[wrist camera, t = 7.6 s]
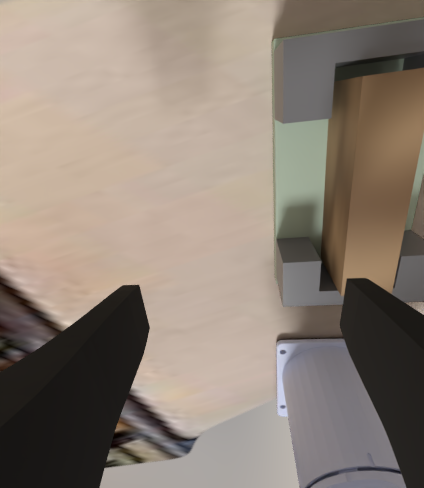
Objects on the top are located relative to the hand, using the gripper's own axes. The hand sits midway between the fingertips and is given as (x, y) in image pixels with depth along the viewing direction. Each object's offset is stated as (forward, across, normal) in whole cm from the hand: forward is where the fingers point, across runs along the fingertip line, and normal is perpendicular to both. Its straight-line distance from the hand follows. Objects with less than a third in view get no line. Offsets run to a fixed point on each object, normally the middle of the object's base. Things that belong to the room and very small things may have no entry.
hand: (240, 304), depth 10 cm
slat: (+8, -6, -2) cm, 11 cm away
